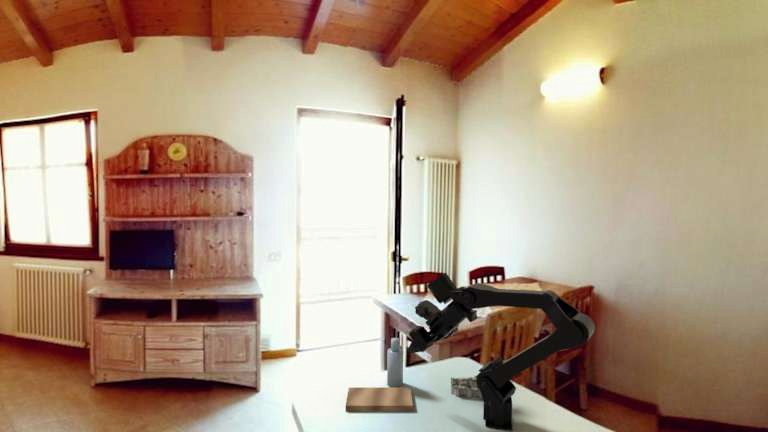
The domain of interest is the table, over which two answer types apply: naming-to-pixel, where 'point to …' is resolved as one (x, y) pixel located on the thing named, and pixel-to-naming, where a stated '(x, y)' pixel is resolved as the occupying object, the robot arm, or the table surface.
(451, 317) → the robot arm
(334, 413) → the table surface
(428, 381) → the table surface
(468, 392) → the egg carton
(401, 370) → the slate-blue bottle
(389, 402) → the walnut board
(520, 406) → the table surface
